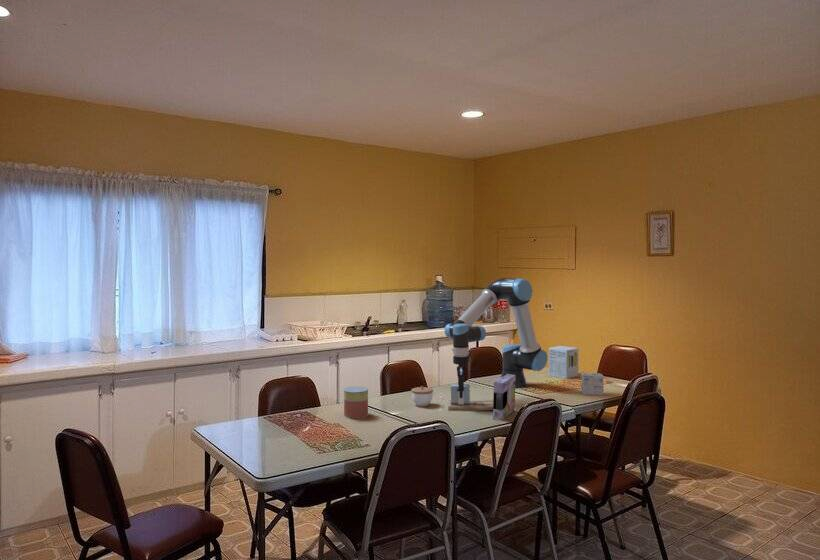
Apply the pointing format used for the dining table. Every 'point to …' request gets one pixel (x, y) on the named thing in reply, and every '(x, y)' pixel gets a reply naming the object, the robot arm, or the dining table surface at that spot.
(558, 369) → the supplement box
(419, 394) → the lidded jar
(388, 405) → the dining table surface
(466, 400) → the block
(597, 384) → the light bulb box
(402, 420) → the dining table surface
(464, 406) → the board
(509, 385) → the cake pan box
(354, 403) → the canned food
